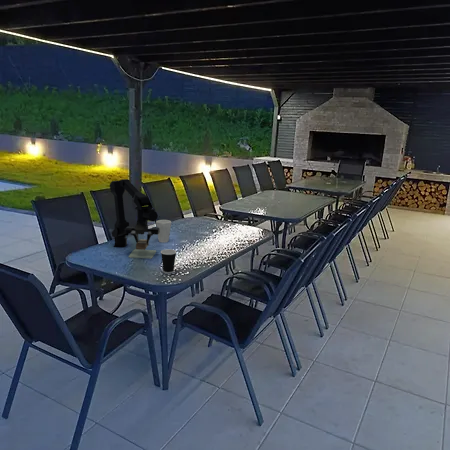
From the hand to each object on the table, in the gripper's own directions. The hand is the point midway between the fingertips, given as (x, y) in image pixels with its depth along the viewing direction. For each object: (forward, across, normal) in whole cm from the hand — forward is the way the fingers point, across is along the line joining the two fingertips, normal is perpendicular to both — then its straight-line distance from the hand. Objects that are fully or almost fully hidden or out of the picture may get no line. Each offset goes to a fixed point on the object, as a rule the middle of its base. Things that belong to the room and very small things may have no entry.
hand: (142, 244), depth 226 cm
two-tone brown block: (+1, 0, 0) cm, 1 cm away
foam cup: (+6, +7, +29) cm, 30 cm away
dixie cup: (+6, +19, -26) cm, 33 cm away
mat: (+6, 0, 0) cm, 6 cm away
